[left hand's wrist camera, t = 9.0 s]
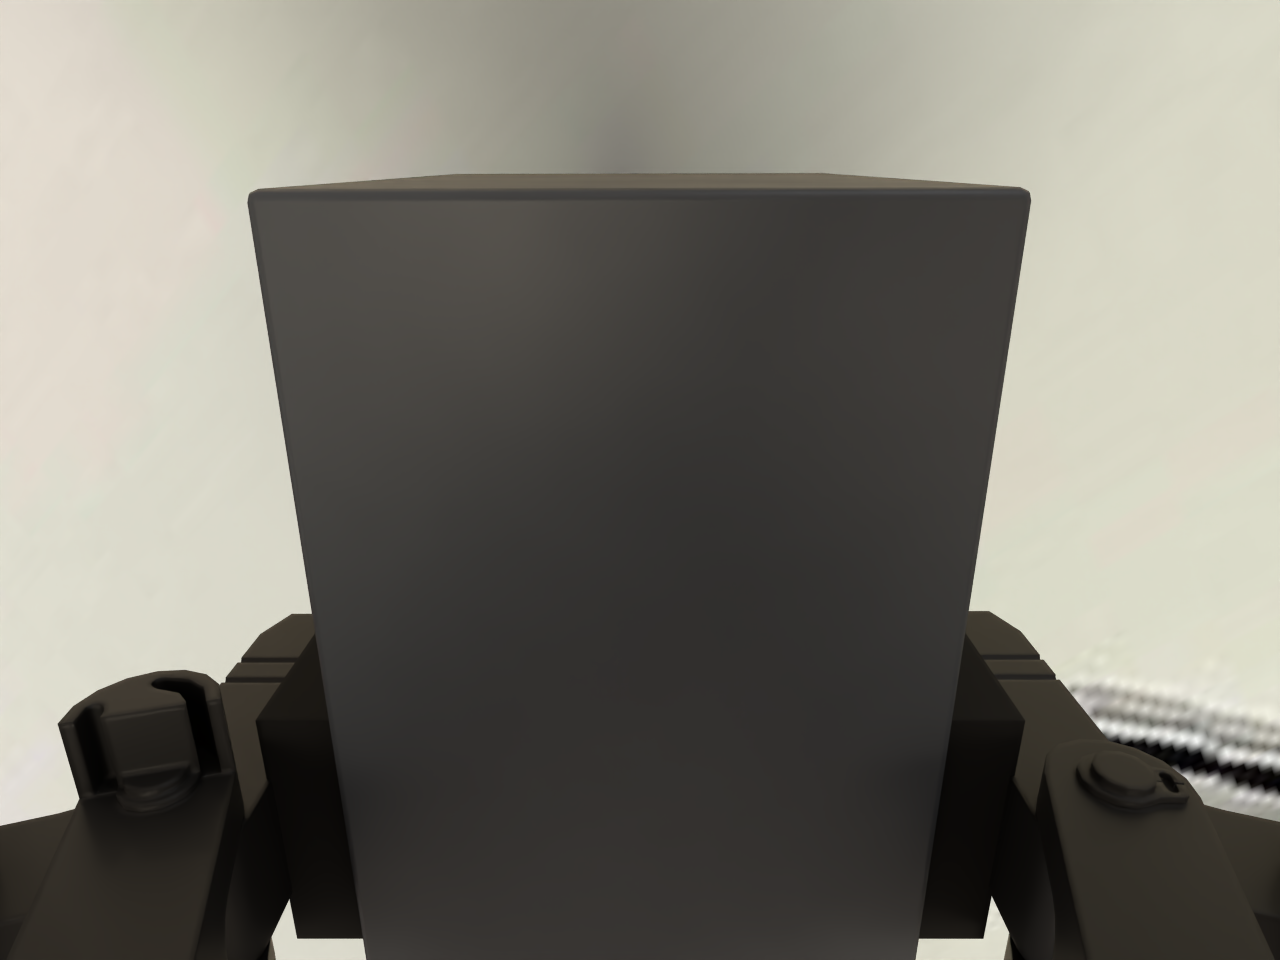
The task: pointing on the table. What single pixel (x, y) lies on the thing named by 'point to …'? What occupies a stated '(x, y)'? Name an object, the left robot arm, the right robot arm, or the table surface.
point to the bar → (640, 545)
